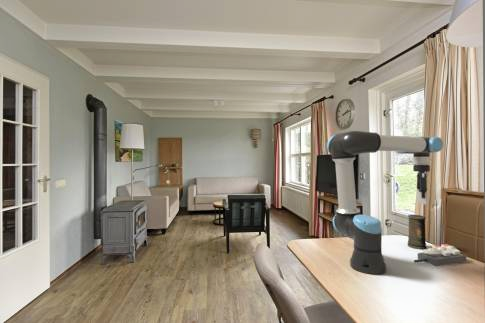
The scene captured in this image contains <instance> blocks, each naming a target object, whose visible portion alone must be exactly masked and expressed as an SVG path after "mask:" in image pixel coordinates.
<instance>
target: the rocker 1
mask: <svg viewBox="0 0 485 323" xmlns="http://www.w3.org/2000/svg"><path fill="white" fill-rule="evenodd" d="M422 251H423V252H424V253H428V254H429V255H437V254H441V253H442V250H437V249H436V248H432V247H430V248H426V249H422ZM423 252H422V253H423Z"/></svg>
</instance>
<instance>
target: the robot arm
mask: <svg viewBox="0 0 485 323" xmlns="http://www.w3.org/2000/svg"><path fill="white" fill-rule="evenodd" d="M326 149H327V152H328V153H329V154H330V155H331V159H332V160H331V161H333V162H334V163H335V174H336V176H335V177H336V189H337V190H336V191H337V202H338V204H337V205H338V208H337V209H336V211H335V214H334V216H333V217H332V226H333V228H334V230H335V231H336V232H337V233H339V234H340V235H342V236H345V237H346V238H348V239H351V240H353V251H352V252H351V257H350V259H349V266H350V268H352V269H353V270H355V271H357V272H361V273H364V274H369V275H383V274H385V273H386V272H387V266H386V263H385V260H384V256H383V253H382V236H383V235H382V230H383V228H382V222H381V221H380V220H379V219H378V218H377V217H375V216H372V215H367V214H361V210H360V209H358V207H357V198H356V184H355V182H356V181H355V172H354V170H355V169H354V160H356V157H357V156H356V155H361V154H368V153H371V154H372V153H373V154H375V153H378V152H396V153H397V154H402V155H404V154H409V155H410V154H413V157H412V158H413V160H412V163H413V164H414V165H412V166H413V172H417V173H416V174H417V175H416V202H419V204H420V205H427V191H428V189H427V186H428V185H427V172H430V171H431V165H429V164H430V163H431V160H432V158H431V155H430V154H431V153H437V152H441V151H442V150H443V149H444V141H443V139H442V138H441V137H438V136H430V137H429V136H405V135H386V134H385V135H384V134H383V135H382V134H379V133H377V132H371V131H362V130H361V131H360V130H350V131H346V132H341V133H337V134H334V135H332V136H331V137H330V138H329V139H328V141H327V143H326Z"/></svg>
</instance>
